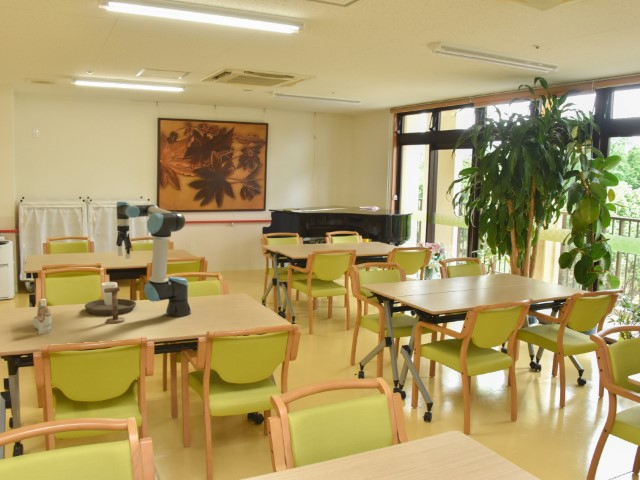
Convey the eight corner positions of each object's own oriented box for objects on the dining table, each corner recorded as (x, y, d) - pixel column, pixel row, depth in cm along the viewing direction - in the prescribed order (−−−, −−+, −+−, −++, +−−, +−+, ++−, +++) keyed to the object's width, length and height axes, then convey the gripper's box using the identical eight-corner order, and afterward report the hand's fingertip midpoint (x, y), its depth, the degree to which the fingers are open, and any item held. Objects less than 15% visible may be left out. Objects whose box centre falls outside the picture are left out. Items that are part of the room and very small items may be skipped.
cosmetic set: (31, 324, 339) (29, 292, 337) (48, 322, 344) (47, 290, 342) (36, 335, 318) (34, 301, 316) (54, 333, 323) (53, 299, 321)
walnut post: (126, 321, 347) (126, 288, 345) (109, 324, 341) (108, 290, 338) (120, 318, 355) (119, 285, 352) (103, 320, 348) (102, 287, 346)
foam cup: (103, 305, 368) (102, 285, 366) (101, 302, 376) (100, 282, 374) (119, 304, 372) (118, 284, 371) (116, 301, 380) (115, 281, 379)
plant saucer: (128, 302, 396) (128, 296, 395) (142, 312, 371) (142, 305, 370) (80, 308, 379) (79, 301, 378) (91, 319, 353) (90, 311, 353)
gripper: (136, 226, 375) (136, 259, 378) (121, 223, 394) (122, 254, 397) (124, 227, 370) (125, 260, 373) (110, 223, 389) (111, 255, 392)
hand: (124, 257), depth 385 cm, fingers open, 13 cm apart
